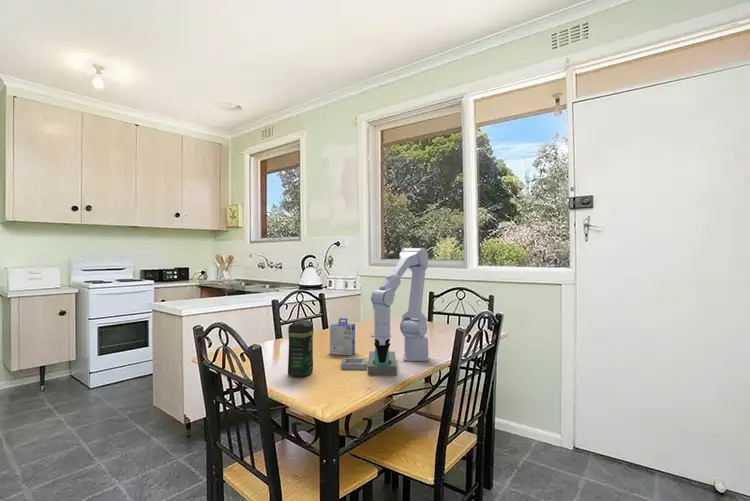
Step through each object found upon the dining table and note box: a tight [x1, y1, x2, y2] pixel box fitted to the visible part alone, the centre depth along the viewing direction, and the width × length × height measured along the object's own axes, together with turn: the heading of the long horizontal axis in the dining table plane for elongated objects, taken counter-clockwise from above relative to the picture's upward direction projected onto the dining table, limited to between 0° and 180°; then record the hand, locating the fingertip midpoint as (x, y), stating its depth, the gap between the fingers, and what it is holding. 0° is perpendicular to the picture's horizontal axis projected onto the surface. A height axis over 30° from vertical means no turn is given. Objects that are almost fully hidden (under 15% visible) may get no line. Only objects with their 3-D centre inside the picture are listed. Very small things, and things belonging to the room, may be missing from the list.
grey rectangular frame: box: [340, 357, 367, 371], centre depth 150 cm, size 9×8×2 cm
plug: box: [374, 346, 390, 364], centre depth 144 cm, size 5×4×8 cm
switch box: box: [367, 350, 398, 376], centre depth 149 cm, size 10×20×3 cm, turn 179°
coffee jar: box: [287, 319, 314, 378], centre depth 141 cm, size 10×8×19 cm
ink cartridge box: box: [329, 317, 356, 356], centre depth 168 cm, size 10×6×14 cm, turn 78°
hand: (382, 360), depth 144 cm, fingers closed on plug, 4 cm apart
